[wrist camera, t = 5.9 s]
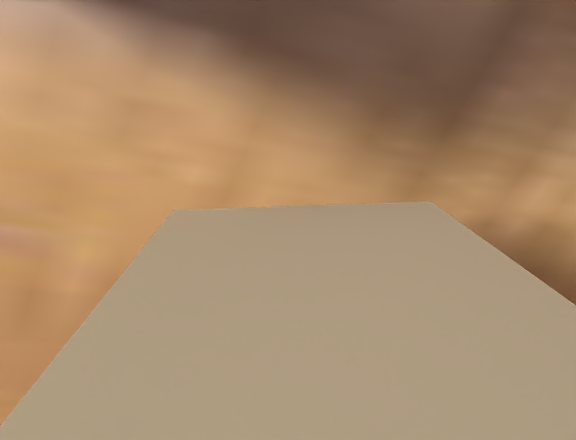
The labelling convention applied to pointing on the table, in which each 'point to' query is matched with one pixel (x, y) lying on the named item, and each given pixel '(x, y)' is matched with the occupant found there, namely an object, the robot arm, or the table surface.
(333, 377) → the beige cube
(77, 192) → the table surface
